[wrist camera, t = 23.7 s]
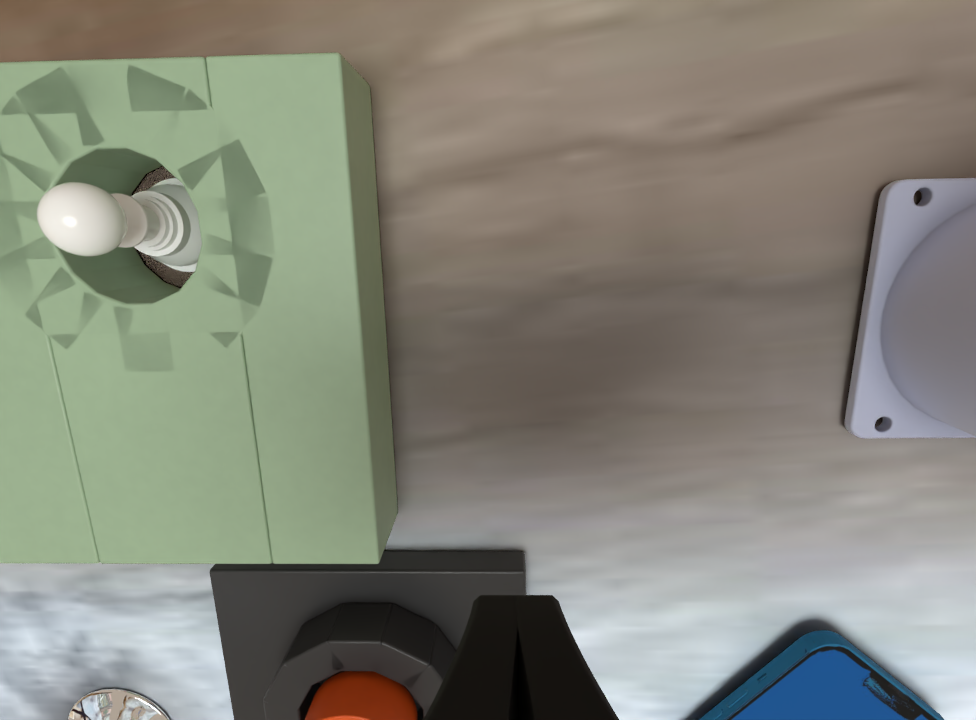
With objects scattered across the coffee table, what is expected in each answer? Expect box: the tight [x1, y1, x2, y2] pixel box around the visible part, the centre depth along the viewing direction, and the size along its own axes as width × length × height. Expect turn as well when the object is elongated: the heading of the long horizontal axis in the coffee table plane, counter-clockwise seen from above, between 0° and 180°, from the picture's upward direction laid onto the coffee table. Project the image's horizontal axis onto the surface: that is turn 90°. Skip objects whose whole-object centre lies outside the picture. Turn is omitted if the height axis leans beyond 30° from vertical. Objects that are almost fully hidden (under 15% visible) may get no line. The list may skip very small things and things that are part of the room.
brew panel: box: [210, 551, 526, 720], centre depth 19 cm, size 11×9×3 cm
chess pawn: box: [37, 178, 202, 272], centre depth 14 cm, size 3×3×5 cm
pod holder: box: [0, 53, 398, 564], centre depth 16 cm, size 12×14×3 cm
